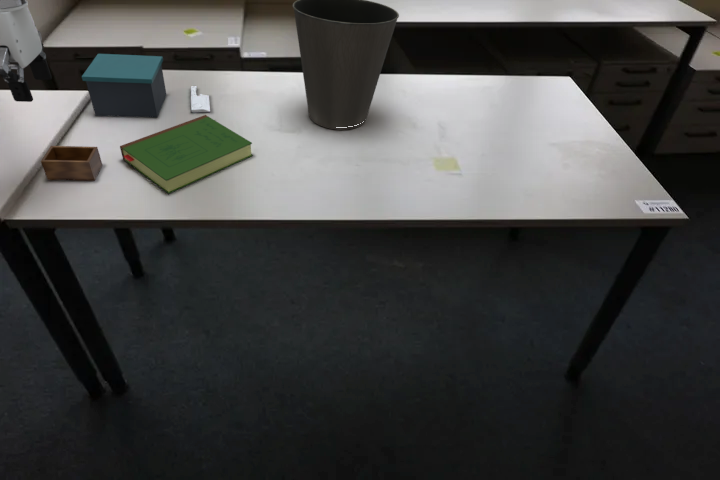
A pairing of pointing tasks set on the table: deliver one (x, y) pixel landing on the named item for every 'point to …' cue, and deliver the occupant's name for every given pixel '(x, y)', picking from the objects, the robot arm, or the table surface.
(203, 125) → the hardcover book
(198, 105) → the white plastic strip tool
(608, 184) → the table surface
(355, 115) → the waste basket
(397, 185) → the table surface
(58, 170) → the wooden box
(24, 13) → the robot arm
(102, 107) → the storage bin
